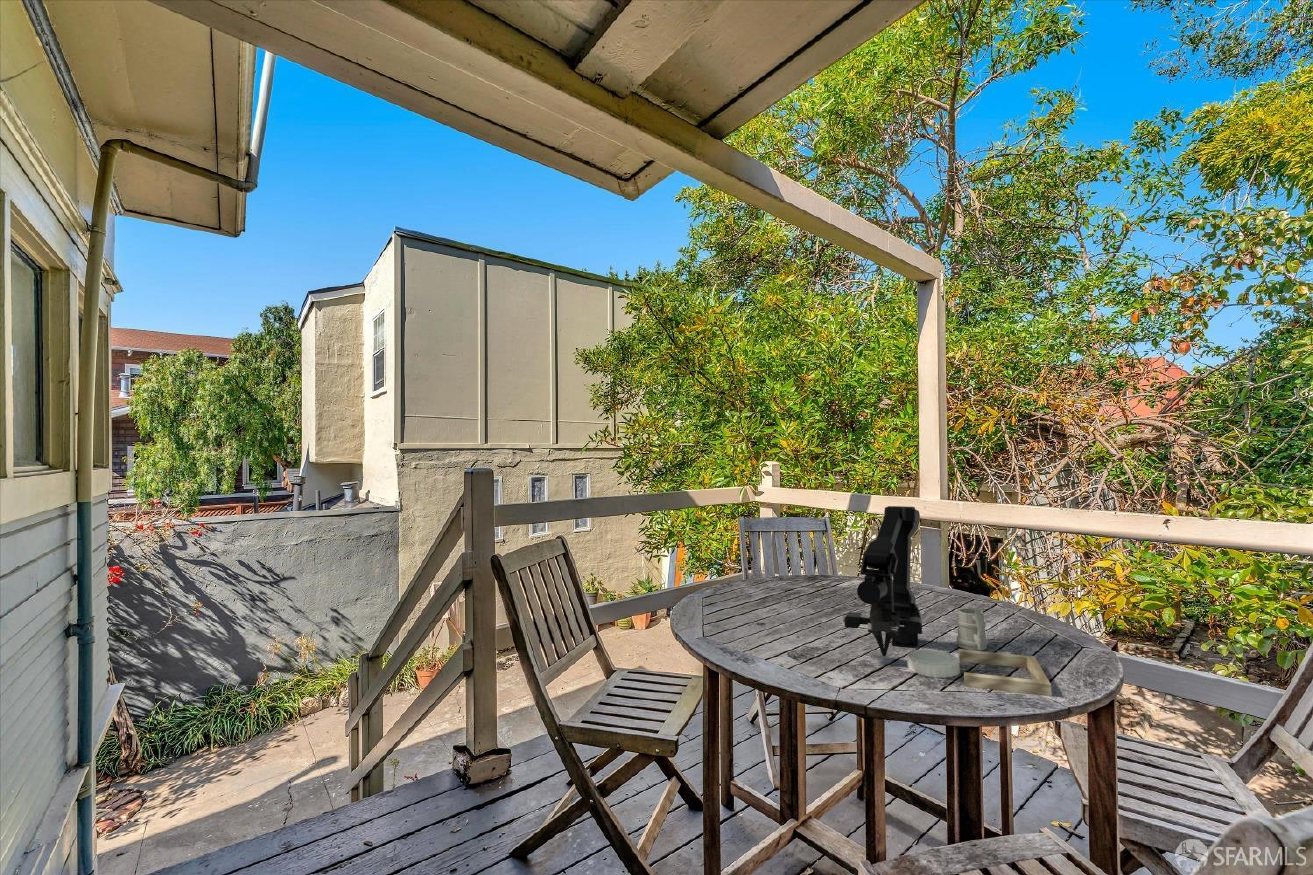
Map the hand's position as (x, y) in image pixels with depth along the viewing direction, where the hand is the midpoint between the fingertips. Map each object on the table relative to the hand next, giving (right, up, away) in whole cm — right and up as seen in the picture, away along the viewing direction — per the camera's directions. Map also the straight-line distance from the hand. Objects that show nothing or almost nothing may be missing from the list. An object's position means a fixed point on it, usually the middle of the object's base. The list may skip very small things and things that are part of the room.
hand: (884, 655), depth 151 cm
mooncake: (+11, -2, -5) cm, 12 cm away
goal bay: (+23, -1, -10) cm, 26 cm away
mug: (+28, -2, +8) cm, 30 cm away
